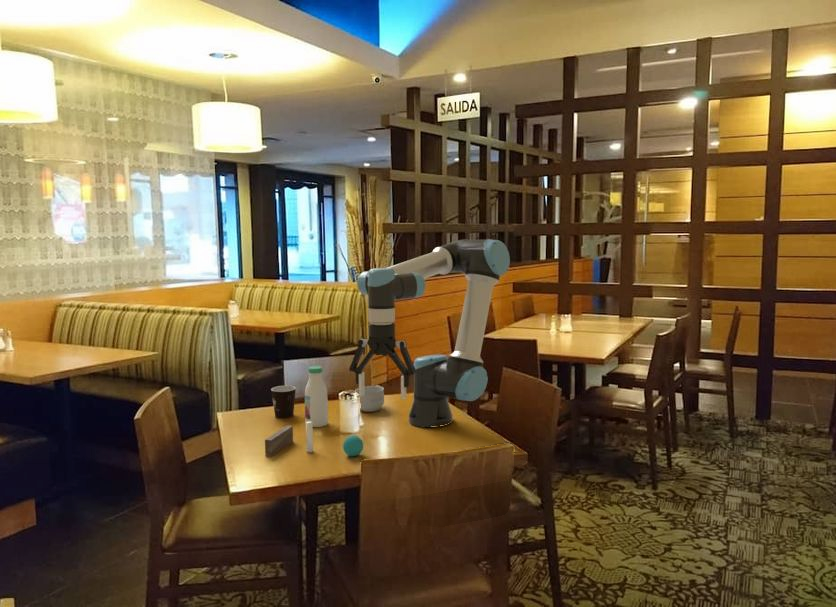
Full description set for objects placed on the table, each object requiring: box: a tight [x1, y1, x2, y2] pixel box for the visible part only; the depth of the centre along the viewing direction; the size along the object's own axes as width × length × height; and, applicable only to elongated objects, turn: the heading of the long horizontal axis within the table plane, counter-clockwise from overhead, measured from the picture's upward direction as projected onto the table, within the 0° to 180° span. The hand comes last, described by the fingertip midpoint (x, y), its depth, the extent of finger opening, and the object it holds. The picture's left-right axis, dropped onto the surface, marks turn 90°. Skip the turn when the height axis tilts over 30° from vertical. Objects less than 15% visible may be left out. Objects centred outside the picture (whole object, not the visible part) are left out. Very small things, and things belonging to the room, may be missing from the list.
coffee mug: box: [270, 385, 297, 420], centre depth 226 cm, size 12×9×10 cm
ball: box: [342, 434, 364, 457], centre depth 187 cm, size 6×6×6 cm
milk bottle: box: [304, 365, 329, 428], centre depth 217 cm, size 8×8×20 cm
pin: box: [305, 421, 314, 454], centre depth 191 cm, size 2×2×9 cm
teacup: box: [354, 385, 385, 413], centre depth 236 cm, size 14×11×8 cm
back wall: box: [264, 425, 294, 458], centre depth 194 cm, size 2×14×5 cm, turn 165°
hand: (382, 396), depth 183 cm, fingers open, 12 cm apart
